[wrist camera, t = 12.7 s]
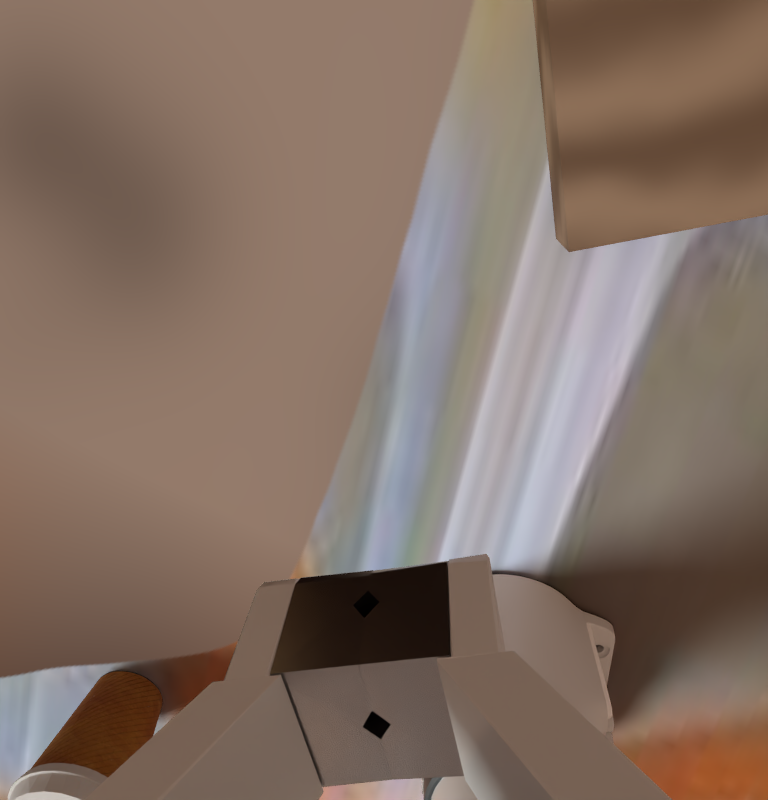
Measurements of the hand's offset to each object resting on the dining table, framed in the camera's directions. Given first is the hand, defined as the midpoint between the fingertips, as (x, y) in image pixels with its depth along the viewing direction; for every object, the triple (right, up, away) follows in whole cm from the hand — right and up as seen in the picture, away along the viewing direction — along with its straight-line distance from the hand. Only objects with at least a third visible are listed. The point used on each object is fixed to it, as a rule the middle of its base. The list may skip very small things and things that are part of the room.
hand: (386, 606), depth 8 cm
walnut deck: (+14, +24, +26) cm, 38 cm away
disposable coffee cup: (-23, -24, +51) cm, 61 cm away
